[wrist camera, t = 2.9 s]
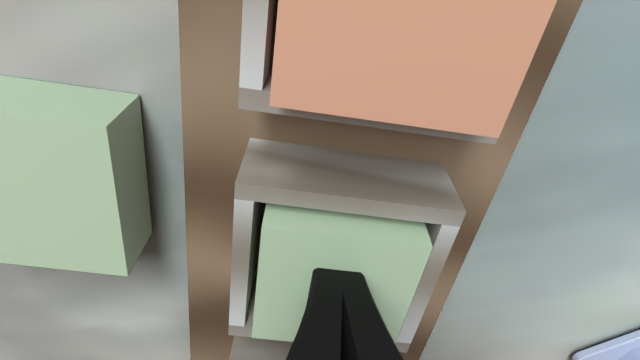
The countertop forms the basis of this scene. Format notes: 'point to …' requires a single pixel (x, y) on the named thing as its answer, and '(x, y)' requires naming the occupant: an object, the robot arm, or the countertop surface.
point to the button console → (317, 172)
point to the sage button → (334, 263)
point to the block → (72, 177)
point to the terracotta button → (407, 59)
